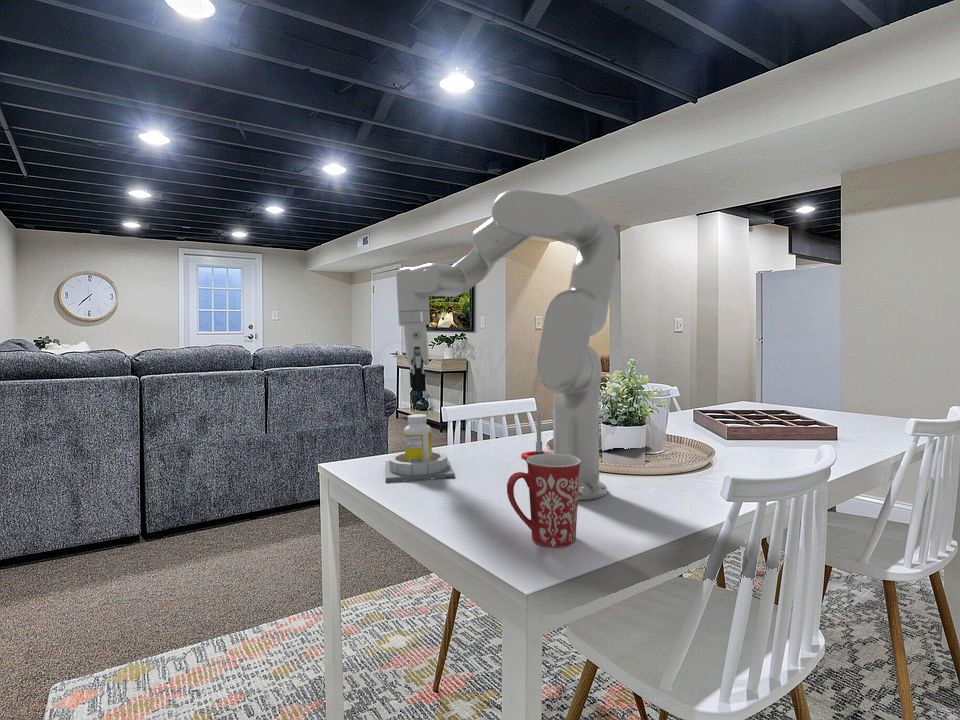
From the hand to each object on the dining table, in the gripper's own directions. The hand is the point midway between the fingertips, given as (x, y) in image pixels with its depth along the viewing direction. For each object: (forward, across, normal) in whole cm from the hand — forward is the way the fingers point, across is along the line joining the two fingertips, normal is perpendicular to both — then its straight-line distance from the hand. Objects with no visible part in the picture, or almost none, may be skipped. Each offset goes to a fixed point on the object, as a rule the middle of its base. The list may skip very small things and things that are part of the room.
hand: (417, 389), depth 137 cm
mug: (+22, -48, -17) cm, 56 cm away
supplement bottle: (+20, +1, +1) cm, 20 cm away
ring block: (+20, +1, +1) cm, 20 cm away
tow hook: (+21, +7, -31) cm, 38 cm away
